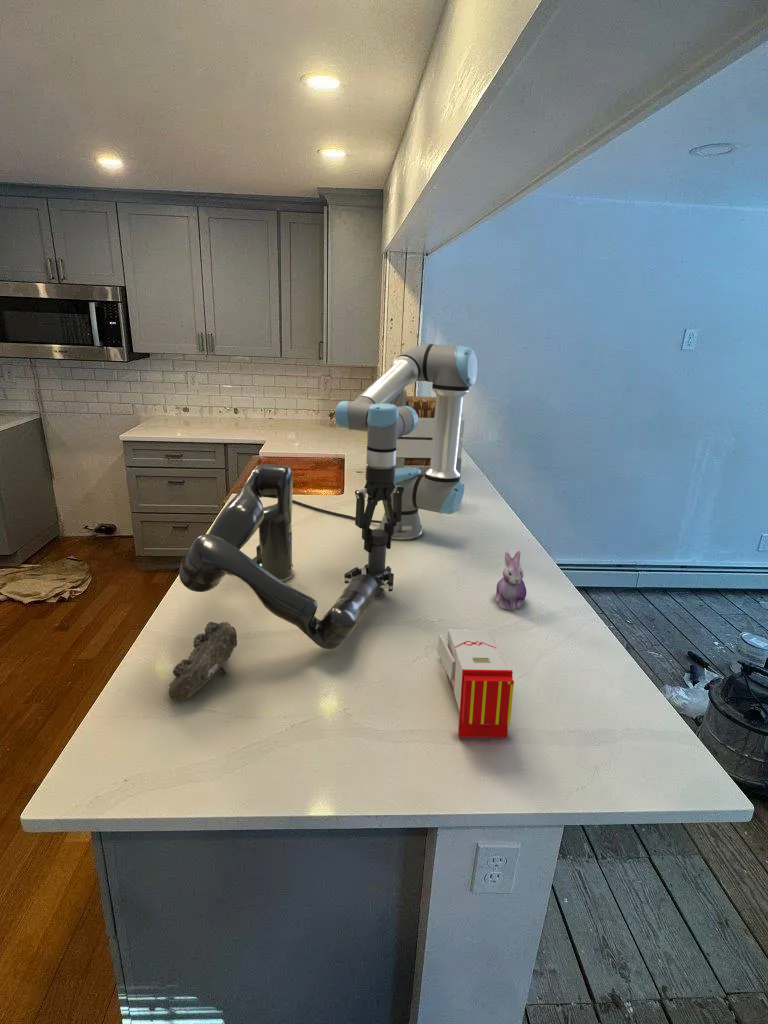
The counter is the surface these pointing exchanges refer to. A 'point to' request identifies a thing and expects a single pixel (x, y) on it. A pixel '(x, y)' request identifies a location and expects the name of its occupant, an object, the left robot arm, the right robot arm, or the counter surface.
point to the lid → (379, 537)
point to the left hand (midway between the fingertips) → (379, 567)
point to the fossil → (203, 659)
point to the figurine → (511, 584)
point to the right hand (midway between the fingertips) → (377, 548)
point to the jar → (377, 562)
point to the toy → (478, 682)
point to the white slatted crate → (420, 433)
